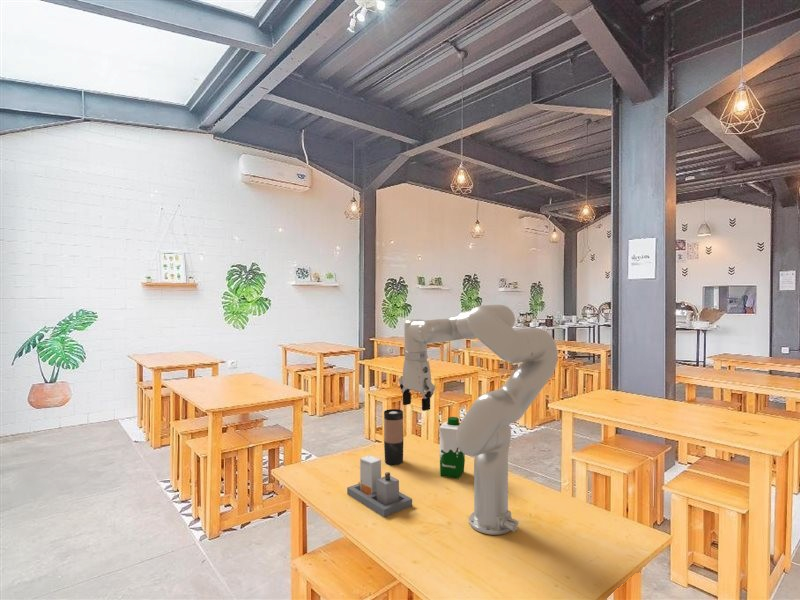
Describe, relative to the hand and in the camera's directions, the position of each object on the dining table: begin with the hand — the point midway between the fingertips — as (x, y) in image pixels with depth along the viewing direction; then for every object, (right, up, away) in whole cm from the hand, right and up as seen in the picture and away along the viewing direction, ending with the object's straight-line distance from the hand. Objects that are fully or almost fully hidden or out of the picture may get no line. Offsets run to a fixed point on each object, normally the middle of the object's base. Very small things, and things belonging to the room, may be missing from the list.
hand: (416, 407), depth 151 cm
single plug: (-9, -28, -11) cm, 31 cm away
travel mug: (-8, -28, +26) cm, 39 cm away
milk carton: (+14, -28, +14) cm, 34 cm away
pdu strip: (-12, -29, -7) cm, 32 cm away
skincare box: (-15, -28, -4) cm, 32 cm away
